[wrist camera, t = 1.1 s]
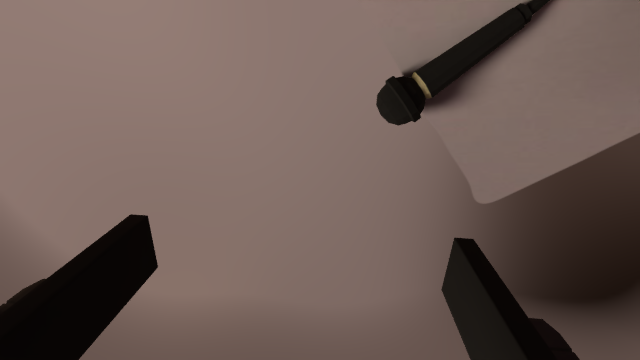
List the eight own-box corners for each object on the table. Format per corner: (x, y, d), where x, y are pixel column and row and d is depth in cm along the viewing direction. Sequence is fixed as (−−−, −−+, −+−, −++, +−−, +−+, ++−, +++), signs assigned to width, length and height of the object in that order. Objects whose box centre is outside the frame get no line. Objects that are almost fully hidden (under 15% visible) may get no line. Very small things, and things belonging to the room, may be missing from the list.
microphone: (527, -25, 32) (366, 94, 37) (562, -49, 26) (367, 95, 32) (552, 21, 33) (391, 131, 38) (591, 6, 27) (397, 138, 33)
